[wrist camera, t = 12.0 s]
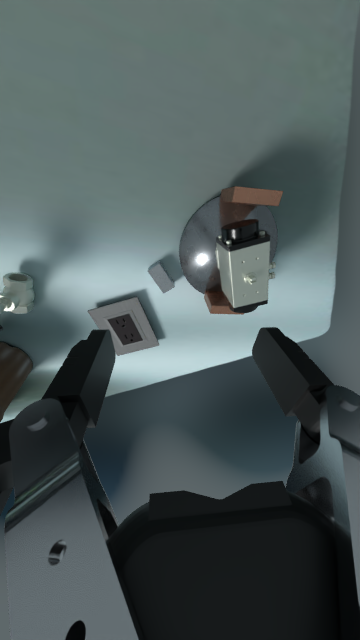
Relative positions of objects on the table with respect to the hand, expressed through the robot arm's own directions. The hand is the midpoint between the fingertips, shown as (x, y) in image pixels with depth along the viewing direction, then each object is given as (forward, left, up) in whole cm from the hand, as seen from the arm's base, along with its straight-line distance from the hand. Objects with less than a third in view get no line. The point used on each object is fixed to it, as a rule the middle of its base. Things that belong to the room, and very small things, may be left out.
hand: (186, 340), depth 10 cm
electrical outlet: (+17, -9, -26) cm, 33 cm away
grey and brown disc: (0, +10, -26) cm, 27 cm away
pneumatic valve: (+1, +10, -24) cm, 26 cm away
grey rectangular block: (+5, -2, -26) cm, 26 cm away
